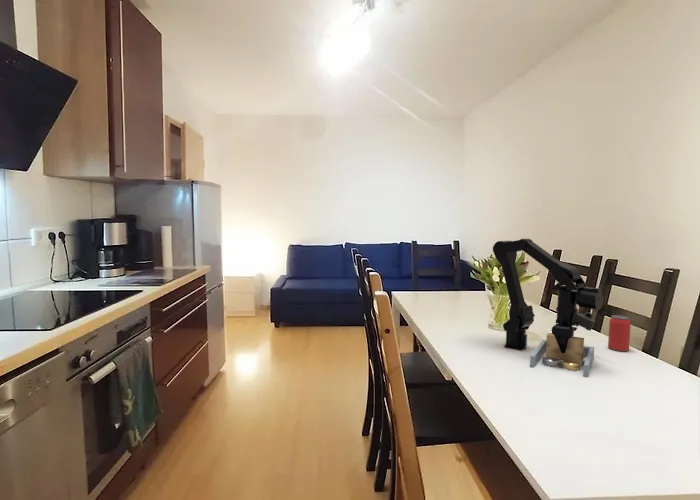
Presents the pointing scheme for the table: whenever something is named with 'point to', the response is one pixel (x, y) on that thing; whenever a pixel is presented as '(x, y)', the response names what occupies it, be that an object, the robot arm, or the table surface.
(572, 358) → the wooden plank block
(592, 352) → the cubby
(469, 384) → the table surface
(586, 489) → the table surface
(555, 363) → the gunmetal token
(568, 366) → the brass token
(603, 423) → the table surface
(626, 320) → the beer can
